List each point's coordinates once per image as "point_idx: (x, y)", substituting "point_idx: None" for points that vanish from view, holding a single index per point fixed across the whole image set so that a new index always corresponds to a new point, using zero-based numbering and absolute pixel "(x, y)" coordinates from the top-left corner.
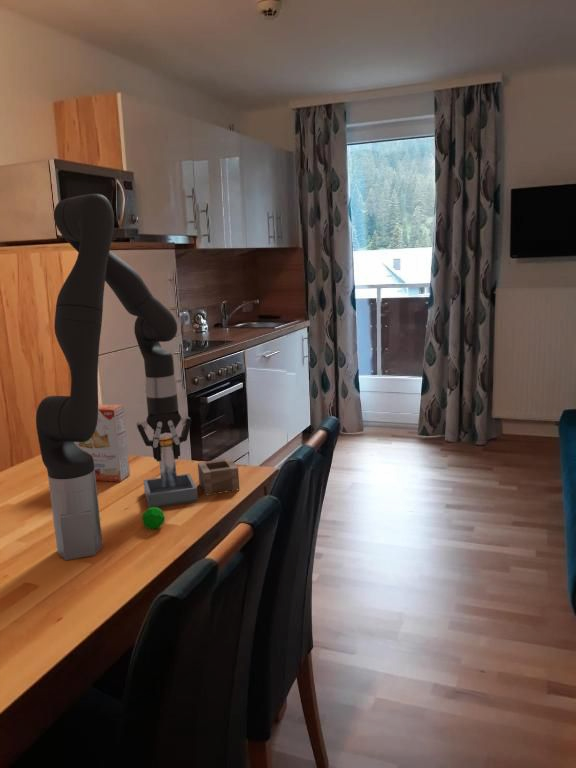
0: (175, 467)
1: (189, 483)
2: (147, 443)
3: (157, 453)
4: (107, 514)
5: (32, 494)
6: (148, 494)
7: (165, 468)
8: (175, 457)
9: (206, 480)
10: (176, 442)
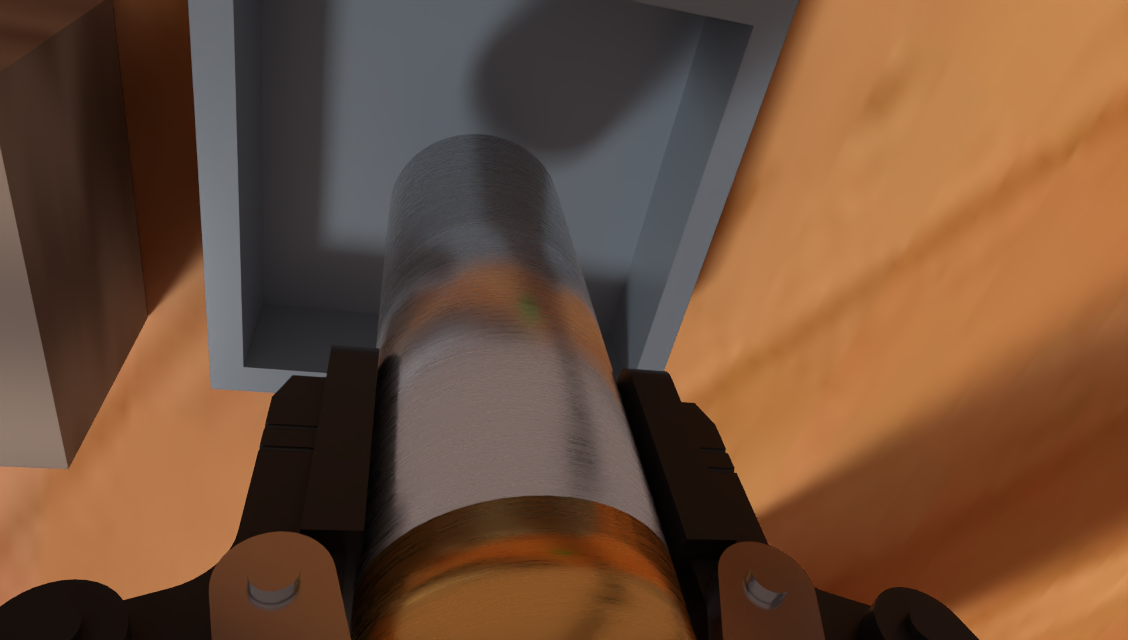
0: (395, 275)
1: (248, 207)
2: (945, 632)
3: (686, 453)
4: (1052, 58)
5: (1096, 570)
6: (782, 22)
7: (551, 257)
8: (376, 358)
9: (4, 39)
10: (300, 582)
